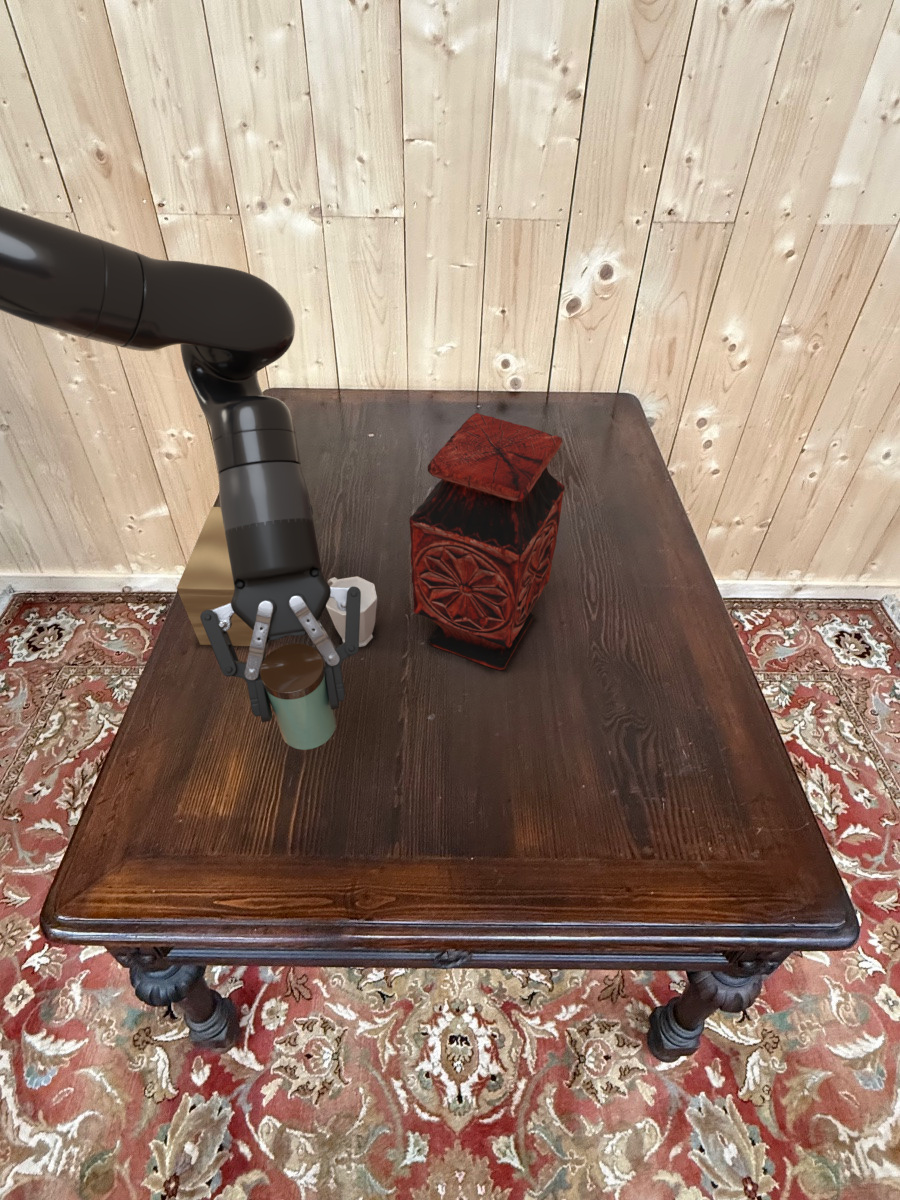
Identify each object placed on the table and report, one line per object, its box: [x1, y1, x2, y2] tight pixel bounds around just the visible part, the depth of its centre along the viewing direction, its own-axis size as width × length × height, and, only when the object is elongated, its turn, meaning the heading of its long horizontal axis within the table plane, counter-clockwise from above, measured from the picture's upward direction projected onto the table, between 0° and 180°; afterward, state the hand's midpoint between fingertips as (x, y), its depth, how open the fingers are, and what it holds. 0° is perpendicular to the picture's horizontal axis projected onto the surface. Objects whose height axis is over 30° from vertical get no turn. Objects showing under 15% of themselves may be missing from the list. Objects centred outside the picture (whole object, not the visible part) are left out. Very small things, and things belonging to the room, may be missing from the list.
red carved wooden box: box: [408, 412, 565, 671], centre depth 84 cm, size 14×14×30 cm
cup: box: [325, 575, 378, 648], centre depth 92 cm, size 7×10×8 cm
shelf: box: [176, 506, 253, 647], centre depth 95 cm, size 16×9×11 cm, turn 178°
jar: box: [260, 643, 337, 751], centre depth 62 cm, size 5×5×9 cm
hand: (301, 712), depth 61 cm, fingers closed on jar, 5 cm apart
